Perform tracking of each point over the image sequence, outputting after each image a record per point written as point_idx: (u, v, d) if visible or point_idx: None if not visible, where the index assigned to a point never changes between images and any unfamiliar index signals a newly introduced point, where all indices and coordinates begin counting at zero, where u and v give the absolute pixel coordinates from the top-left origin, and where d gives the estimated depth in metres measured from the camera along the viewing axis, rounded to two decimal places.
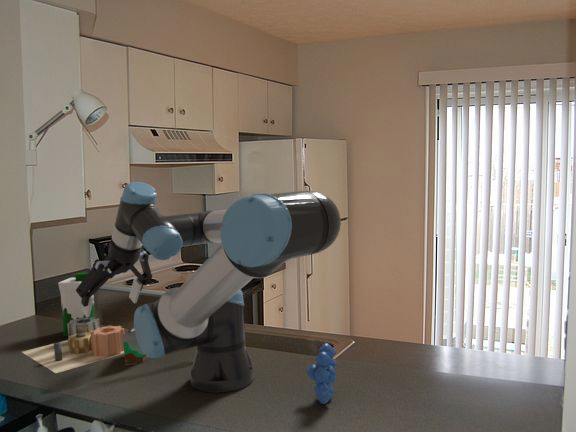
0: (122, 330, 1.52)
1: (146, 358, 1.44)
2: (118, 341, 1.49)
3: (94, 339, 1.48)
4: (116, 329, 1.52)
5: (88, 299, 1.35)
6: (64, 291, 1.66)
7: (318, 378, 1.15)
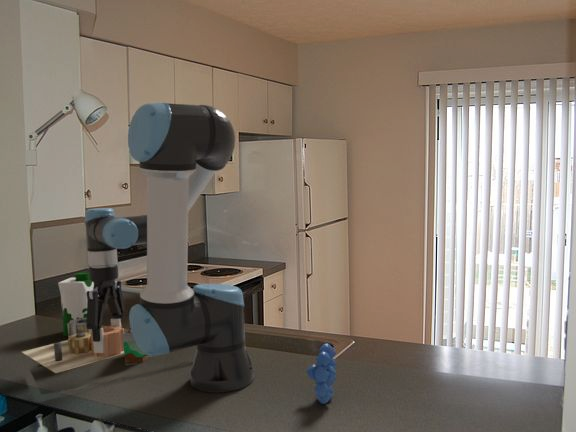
0: (122, 330, 1.52)
1: (146, 358, 1.44)
2: (118, 341, 1.49)
3: None
4: (116, 329, 1.52)
5: (99, 332, 1.46)
6: (64, 291, 1.66)
7: (318, 378, 1.15)
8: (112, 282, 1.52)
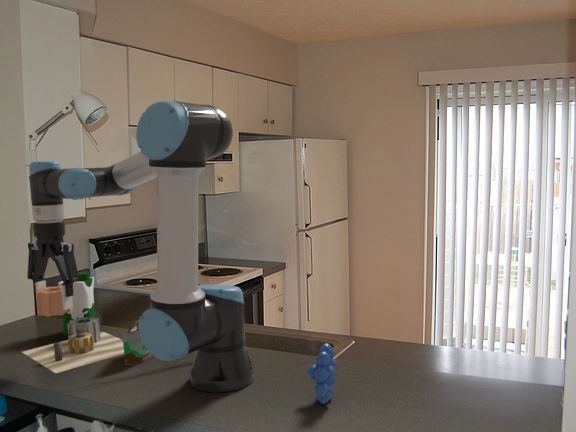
0: None
1: (146, 358, 1.44)
2: None
3: (60, 297, 1.42)
4: (58, 287, 1.47)
5: None
6: None
7: (318, 378, 1.15)
8: None
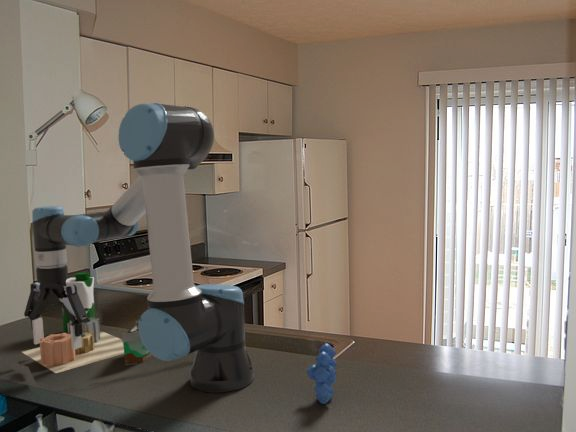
0: (65, 334, 1.50)
1: (146, 358, 1.44)
2: None
3: (64, 346, 1.43)
4: (61, 335, 1.48)
5: None
6: None
7: (318, 378, 1.15)
8: None
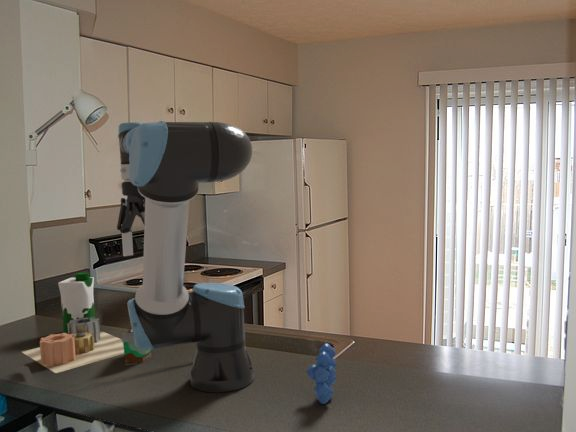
0: (65, 334, 1.50)
1: (146, 358, 1.44)
2: None
3: (64, 346, 1.43)
4: (61, 335, 1.48)
5: None
6: (64, 291, 1.66)
7: (318, 378, 1.15)
8: None
